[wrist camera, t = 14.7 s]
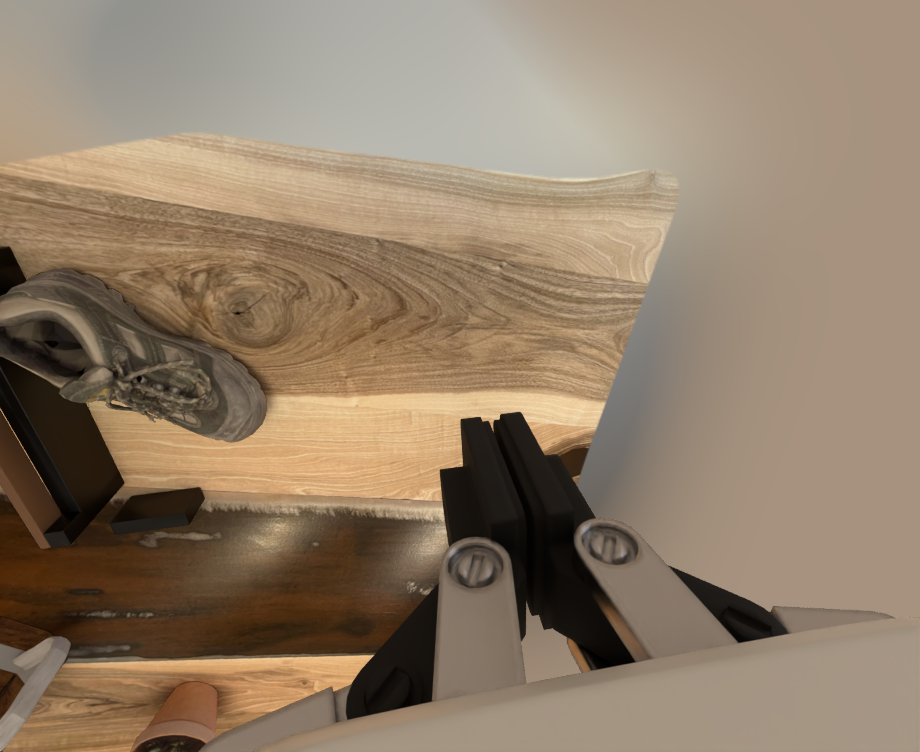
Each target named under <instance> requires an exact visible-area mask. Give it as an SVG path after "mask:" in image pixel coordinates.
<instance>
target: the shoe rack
mask: <svg viewBox="0 0 920 752" xmlns="http://www.w3.org/2000/svg"><path fill="white" fill-rule="evenodd" d="M24 282H26V280H25V278H24V276H23V274H22V272H21V270H20V268H19V265H18V263H17V261H16V259H15V257H14V255H13V253H12V251H11V249H10V247H0V296H2V295H5V294H7V293H8V291H9V290H10V289H11V288H12V287H15V286H17V285H20V284H23V283H24ZM59 392H60V389H59V388H58V387H57V386H55V385H53V384H51V383H50V382H49V381H48V380H46V379H44V378H43V377H41V376H39V375H37V374H35V373H33V372H31V371H29V370H27V369H25V368H24V367H22V366H20V365H18V364H16V363H14V362H12V361H10V360H8V359H6V358H4V357H1V356H0V408H1V410H2V412H3V413H4V415H5V417H6V419H7V420H8V422H9V424H10V425H11V427H12V429H13V430H14V432H15V434H16V436H17V437H18V439H19V441H20V442H21V444H22V446H23V448H24V449H25V451H26V453H27V454H28V456H29V458H30V460H31V461H32V463H33V465H34V466H35V468H36V470H37V472H38V473H39V475H40V477H41V478H42V480H43V482H44V484H45V485H46V487H47V489H48V490H49V492H50V494H51V496H52V497H53V499H54V501H55V502H56V504H57V506H58V508H59V509H60V511H61V513H62V515H61V513H60V511H59V510H58V508H57V506H56V504H55V503H54V501H53V499H52V498H51V496H50V494H49V492H48V491H47V489H46V487H45V486H44V484H43V482H42V481H41V479H40V477H39V475H38V474H37V472H36V470H35V469H34V467H33V465H32V463H31V462H30V460H29V458H28V457H27V455H26V453H25V452H24V450H23V448H22V446H21V445H20V443H19V441H18V440H17V438H16V436H15V434H14V433H13V431H12V429H11V428H10V426H9V424H8V422H7V421H6V419H5V417H4V416H3V414H2V412H1V411H0V485H1V487H2V488H3V490H4V492H5V493H6V495H7V496H8V498H9V499H10V501H11V503H12V504H13V506H14V507H15V509H16V510H17V512H18V513H19V515H20V517H21V518H22V520H23V521H24V523H25V524H26V526H27V528H28V529H29V531H30V532H31V534H32V535H33V537H34V539H35V540H36V542H37V543H38V545H39V546H40V548H41V549H45V548H51V547H59V546H66V545H71V544H72V543H73V542H74V541H75V539H76V538H77V537H78V536H79V535H80V534H81V533H82V531H83V530H84V529H85V528H86V527H87V526H88V525H89V523H90V522H91V521H92V520H93V519H94V518H95V517H96V515H97V514H98V513H99V512H100V511H101V510H102V509H103V507H104V506H105V505H106V504H107V503H108V502H109V501H110V499H111V498H112V497H113V496H114V495H115V494H116V493H117V491H118V490H119V489H120V488H121V487H122V486H123V485H124V481H123V479H122V477H121V475H120V473H119V471H118V469H117V467H116V465H115V463H114V461H113V459H112V457H111V455H110V453H109V451H108V449H107V447H106V445H105V443H104V441H103V439H102V436H101V434H100V432H99V430H98V428H97V426H96V424H95V422H94V420H93V418H92V416H91V414H90V412H89V410H88V408H87V406H86V403H78V402H73V401H70V400H68V399H65V398H64V397H63V396H62V395H60V394H59ZM203 501H204V496H203V493H202V491H201V488H193V489H185V490H177V491H170V492H162V493H155V494H147V495H139V496H132V497H130V499H129V500H128V501H127V502H126V504H125V505H124V506H123V507H122V508H121V510H120V511H119V512H118V513H117V515H116V516H115V517H114V518H113V519H112V521H111V522H110V526H111V528H112V530H113V531H114V533H115V535H121V534H128V533H135V532H143V531H150V530H157V529H164V528H171V527H179V526H186V525H190V523H191V521H192V520H193V518H194V516H195V514H196V513H197V511H198V509H199V508H200V506H201V504H202V502H203Z"/></svg>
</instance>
